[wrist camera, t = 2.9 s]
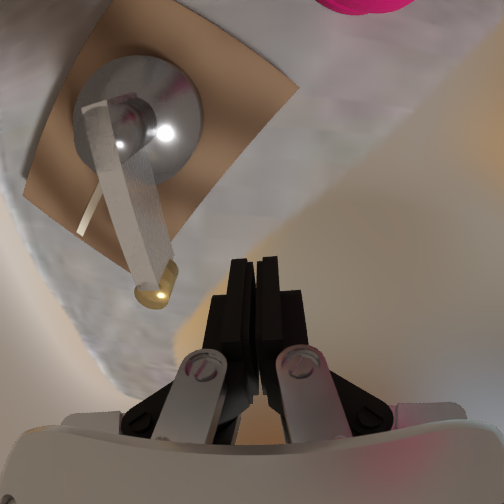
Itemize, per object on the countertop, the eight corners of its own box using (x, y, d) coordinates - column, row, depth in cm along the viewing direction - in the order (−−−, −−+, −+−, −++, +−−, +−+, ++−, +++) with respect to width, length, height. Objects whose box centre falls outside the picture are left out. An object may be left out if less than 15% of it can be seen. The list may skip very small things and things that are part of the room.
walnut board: (140, -16, 14) (128, -22, 12) (296, 86, 19) (300, 87, 17) (34, 187, 23) (21, 197, 21) (148, 268, 28) (141, 282, 26)
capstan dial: (73, 77, 16) (25, 87, 12) (193, 41, 15) (168, 33, 11) (126, 266, 25) (102, 309, 21) (228, 260, 24) (220, 308, 20)
